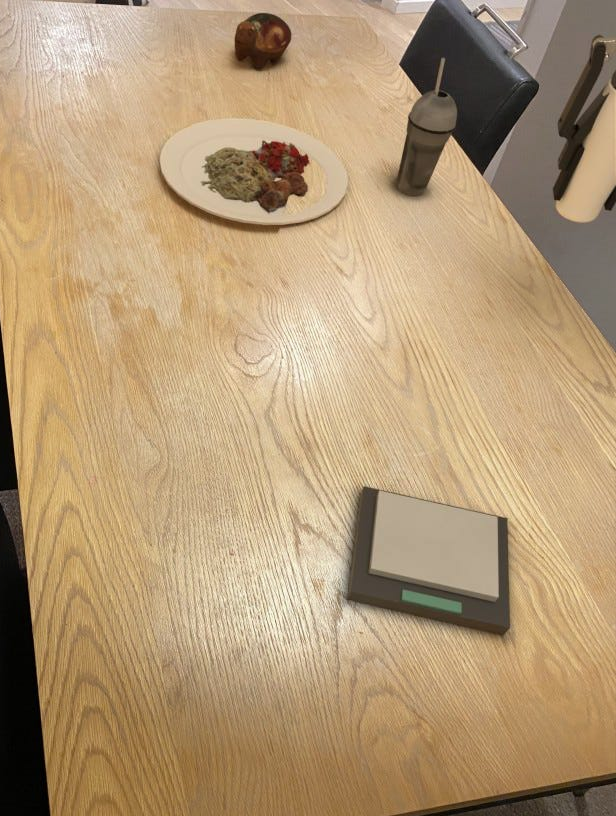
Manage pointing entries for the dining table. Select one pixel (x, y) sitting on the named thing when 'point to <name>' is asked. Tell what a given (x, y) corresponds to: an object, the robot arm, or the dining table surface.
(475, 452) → the dining table surface
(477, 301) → the dining table surface
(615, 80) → the robot arm
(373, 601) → the scale
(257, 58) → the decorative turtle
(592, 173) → the drinking glass
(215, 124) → the plated food
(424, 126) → the beverage cup
